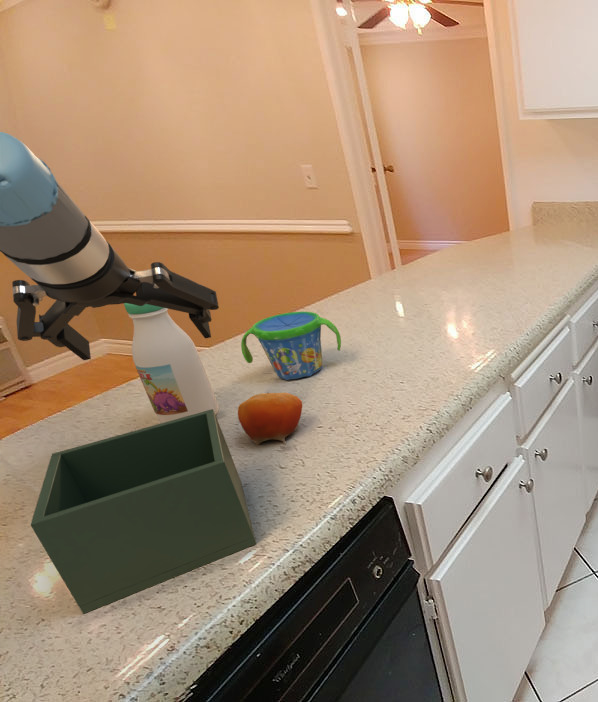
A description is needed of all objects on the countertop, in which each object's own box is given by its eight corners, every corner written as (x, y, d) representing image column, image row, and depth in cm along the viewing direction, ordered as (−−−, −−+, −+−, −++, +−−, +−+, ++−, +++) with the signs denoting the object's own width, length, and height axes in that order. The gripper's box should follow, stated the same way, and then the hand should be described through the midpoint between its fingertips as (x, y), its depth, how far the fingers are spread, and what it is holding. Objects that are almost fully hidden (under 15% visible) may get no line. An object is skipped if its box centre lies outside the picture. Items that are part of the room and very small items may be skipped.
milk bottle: (206, 402, 94) (161, 287, 85) (229, 413, 90) (186, 294, 82) (152, 423, 88) (99, 302, 79) (175, 436, 84) (122, 310, 76)
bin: (94, 533, 65) (51, 453, 60) (241, 482, 73) (213, 408, 68) (83, 614, 54) (30, 524, 50) (256, 544, 62) (224, 461, 58)
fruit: (230, 452, 77) (225, 395, 77) (254, 451, 84) (249, 398, 85) (295, 441, 78) (289, 385, 79) (313, 441, 86) (307, 390, 87)
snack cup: (352, 355, 109) (339, 306, 105) (340, 378, 100) (326, 325, 96) (264, 366, 106) (248, 315, 102) (243, 390, 97) (224, 336, 93)
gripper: (201, 214, 67) (247, 300, 85) (-99, 244, 56) (28, 335, 74) (211, 267, 64) (256, 343, 83) (-99, 308, 54) (32, 386, 72)
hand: (148, 340), depth 78 cm, fingers open, 13 cm apart
